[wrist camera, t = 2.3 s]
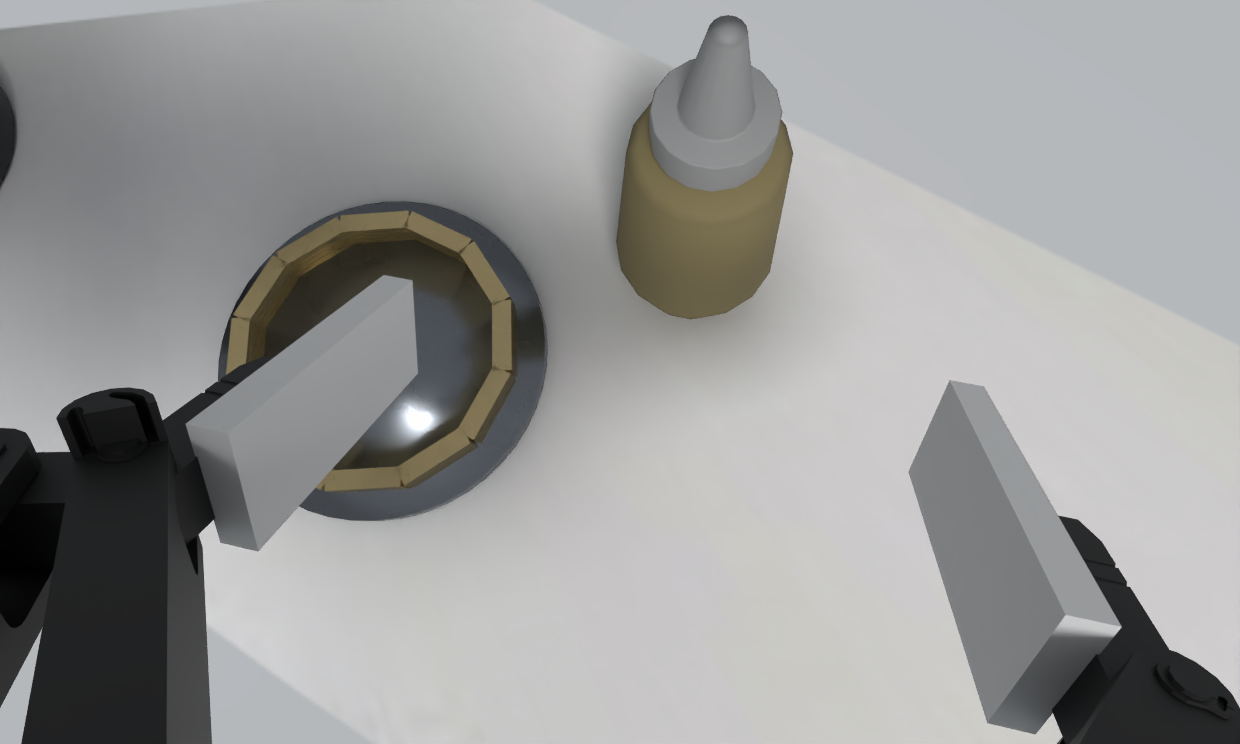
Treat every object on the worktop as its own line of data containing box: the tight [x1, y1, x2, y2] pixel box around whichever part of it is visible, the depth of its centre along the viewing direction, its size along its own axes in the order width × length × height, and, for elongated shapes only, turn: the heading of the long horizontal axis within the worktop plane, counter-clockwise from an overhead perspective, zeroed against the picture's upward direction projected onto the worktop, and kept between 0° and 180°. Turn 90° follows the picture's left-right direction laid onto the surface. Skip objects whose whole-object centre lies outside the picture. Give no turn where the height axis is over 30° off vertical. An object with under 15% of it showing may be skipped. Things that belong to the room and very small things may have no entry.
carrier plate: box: [218, 202, 547, 521], centre depth 35 cm, size 18×18×2 cm
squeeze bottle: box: [616, 15, 793, 319], centre depth 28 cm, size 8×8×18 cm
